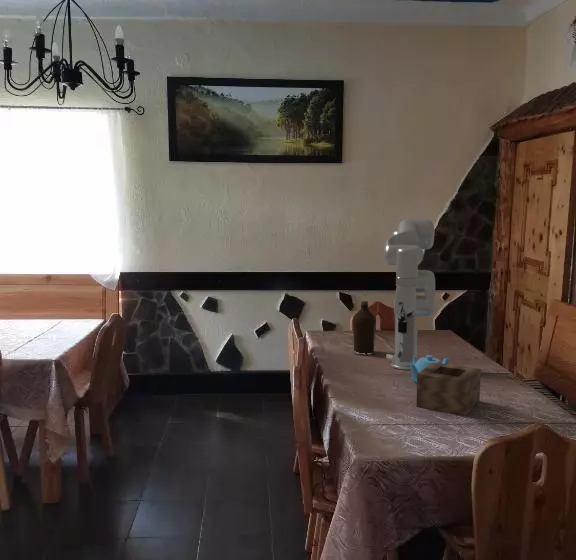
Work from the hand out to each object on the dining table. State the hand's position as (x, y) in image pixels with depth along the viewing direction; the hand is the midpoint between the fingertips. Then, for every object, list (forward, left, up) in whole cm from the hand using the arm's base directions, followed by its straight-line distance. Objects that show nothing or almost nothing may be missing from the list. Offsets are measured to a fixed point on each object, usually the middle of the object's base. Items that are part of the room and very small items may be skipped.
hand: (405, 330), depth 219 cm
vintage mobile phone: (0, 0, -12) cm, 12 cm away
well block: (+16, +2, -25) cm, 30 cm away
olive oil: (-40, +50, -26) cm, 69 cm away
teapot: (+1, +24, -26) cm, 35 cm away
